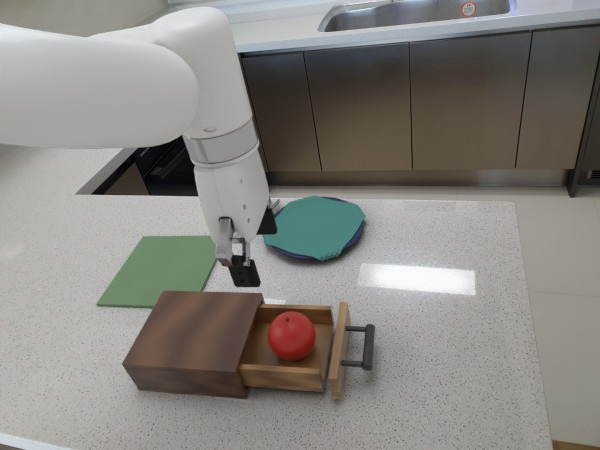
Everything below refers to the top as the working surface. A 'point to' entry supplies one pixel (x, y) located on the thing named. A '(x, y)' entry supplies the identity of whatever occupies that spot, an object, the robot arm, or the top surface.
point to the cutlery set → (315, 227)
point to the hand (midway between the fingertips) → (257, 257)
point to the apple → (291, 336)
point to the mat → (161, 270)
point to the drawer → (312, 369)
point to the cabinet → (194, 343)
